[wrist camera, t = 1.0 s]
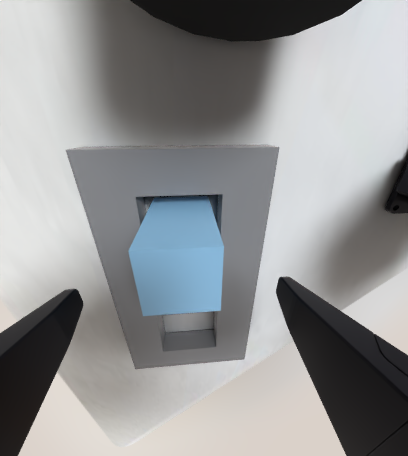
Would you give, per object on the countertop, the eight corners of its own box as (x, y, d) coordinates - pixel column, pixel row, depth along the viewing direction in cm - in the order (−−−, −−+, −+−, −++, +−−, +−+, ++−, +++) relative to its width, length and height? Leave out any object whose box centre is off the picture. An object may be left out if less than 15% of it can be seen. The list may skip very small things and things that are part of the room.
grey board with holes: (266, 144, 13) (279, 147, 11) (239, 341, 23) (244, 359, 21) (83, 147, 12) (65, 150, 10) (139, 349, 22) (135, 369, 20)
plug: (207, 195, 14) (224, 246, 8) (207, 247, 16) (220, 318, 10) (154, 197, 14) (128, 250, 8) (160, 249, 16) (144, 323, 10)
